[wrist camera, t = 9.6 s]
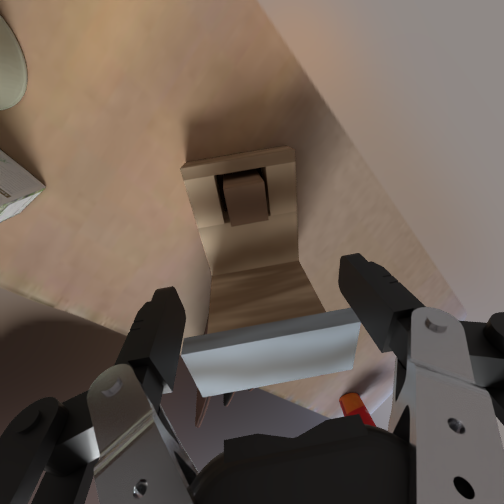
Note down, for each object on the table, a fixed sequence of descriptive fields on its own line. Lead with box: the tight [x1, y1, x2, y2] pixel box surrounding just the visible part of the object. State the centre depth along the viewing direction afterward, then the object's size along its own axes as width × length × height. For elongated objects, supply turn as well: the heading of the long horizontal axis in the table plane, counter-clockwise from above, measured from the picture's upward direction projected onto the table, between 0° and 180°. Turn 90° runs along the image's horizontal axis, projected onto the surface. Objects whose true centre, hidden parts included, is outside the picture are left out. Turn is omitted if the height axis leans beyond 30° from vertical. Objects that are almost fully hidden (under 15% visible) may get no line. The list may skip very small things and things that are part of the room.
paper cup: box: [339, 393, 376, 427], centre depth 55 cm, size 8×8×14 cm
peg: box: [223, 169, 269, 227], centre depth 25 cm, size 4×4×7 cm
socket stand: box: [180, 146, 361, 397], centre depth 23 cm, size 18×14×18 cm
